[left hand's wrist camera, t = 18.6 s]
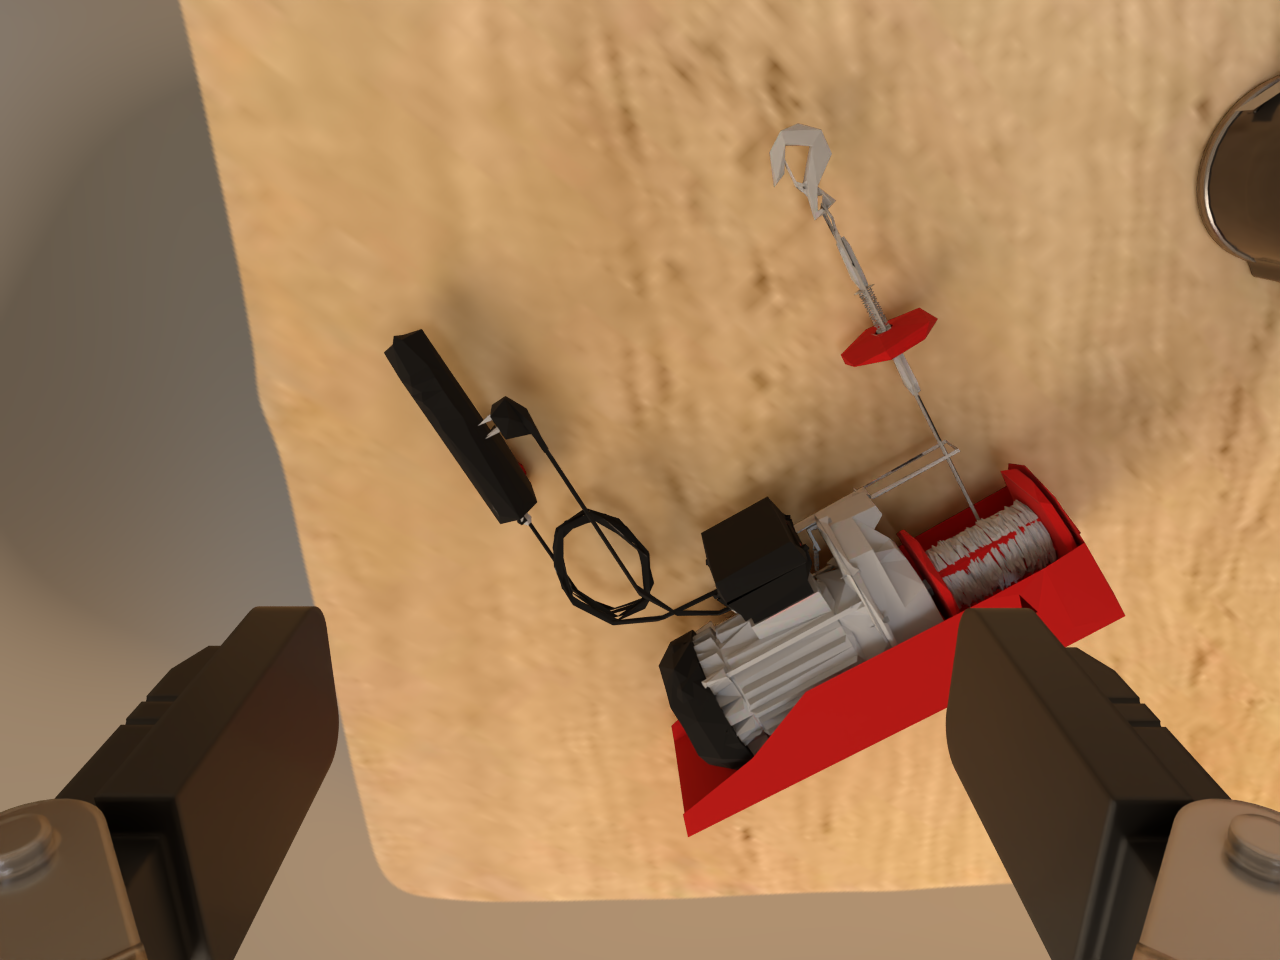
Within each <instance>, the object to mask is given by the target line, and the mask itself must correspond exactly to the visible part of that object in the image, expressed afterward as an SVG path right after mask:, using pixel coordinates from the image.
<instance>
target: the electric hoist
mask: <svg viewBox="0 0 1280 960" xmlns="http://www.w3.org/2000/svg"><path fill="white" fill-rule="evenodd" d="M793 145H802V146H809V152H808V158H807V164H806V169H805V175H804V176H803V177H804V181H803V183H799V182H796V180H795V178H794V176H793V174H792V172H791V170H790V168H789V166H788V164H787V162H786V161H785V146H793ZM769 153H770V160H771V168H772V175H773V183H774V187H775V186H776V184H777V183H778V182H779V180H780V179H781V178H782V176H783V175H784V166H786V168H787V170H788V172H789V174H790V176H791V178H792V180H793V182H794V185H795V187H796V188H797V189H799V190H800V191H801V192H803V193H804V194H805V195H806V196H807V197H808V201H809V204H810V207H811V211H812V214H813V217H814V220H816V219H817V218H819V217H820V216H822V215H823V217H824V219H825V221H826V222H827V224H828V226H829V228H830V230H831V232H832V234H833V236H834V238H835V240H836V241H837V243H836V245H837V247H838V250H839V252H840V254H841V256H842V259H843V261H844V263H845V266H846V268H847V270H848V273H849V275H850V277H851V279H852V281H853V282H854V283H855V284H856V286H857V287H858V288H859V289H860V290H858V291H857V292H856V293H855V294H854V295H857V294H859V296H860V298H861V299H862V300H863V298H864V297H865V298H864V300H863V301H861V302H864V303H863V304H865V305H864V306H866V307H865V308H867V312H869V314H870V315H869V317H870V316H872V317H873V316H874V318H875V319H872V317H871V318H870V319H872V320H874V321H875V320H876V322H874V321H873V323H874V324H873V325H875V324H876V325H875V326H873V327H871V328H868V329H866V330H865V331H864V332H863V333H862V334H861V335H860V336H859V337H858V338H857V339H856V340H855V341H854V342H853V343H852V344H851V345H850V346H849V347H848V348H847V349H846V350H845V351H844V352H843V353H842V354H841V356H842V358H843V360H844V362H845V364H847V365H850V366H853V367H856V366H862V365H867V364H872V363H877V362H882V361H887V360H892V359H893V360H894V363H895V365H896V367H897V370H898V372H899V374H900V377H901V379H902V381H903V384H904V385H905V387H906V388H907V389H908V390H909V391H910V393H911V394H912V395H913V396H915V398H916V400H917V402H918V404H919V406H920V408H921V410H922V412H923V414H924V416H925V418H926V420H927V422H928V424H929V426H930V428H931V430H932V432H933V434H934V436H935V438H936V440H937V442H938V444H937V445H935V446H933V447H932V448H930V449H928V450H926V451H925V452H923V453H921V454H919V455H918V456H916V457H914V458H912V459H911V460H909V461H907V462H905V463H904V464H902V465H900V466H898V467H897V468H895V469H893V470H891V471H890V472H888V473H886V474H884V475H883V476H881V477H879V478H877V479H876V480H874V481H872V482H870V483H869V484H867V485H865V486H863V487H862V488H860V489H858V490H857V489H855V488H854V487H853V491H854V492H852V493H851V494H849V495H847V496H845V497H843V498H841V499H840V500H838V501H836V502H834V503H832V504H831V505H829V506H827V507H825V508H824V509H822V510H820V511H818V512H816V513H815V514H813V515H811V516H809V517H807V518H806V519H804V520H802V521H800V522H798V523H797V524H795V525H793V522H792V519H790V516H791V515H785V514H783V513H782V512H781V511H780V510H779V509H778V508H777V507H776V505H775V504H774V503H773V502H772V501H771V500H770V499H769V498H768V497H766V498H764V499H762V500H761V501H759V502H757V503H755V504H753V505H751V506H750V507H748V508H746V509H744V510H742V511H741V512H739V513H737V514H735V515H733V516H731V517H730V518H728V519H726V520H724V521H722V522H721V523H719V524H717V525H715V526H713V527H712V528H710V529H708V530H706V531H704V532H702V533H701V535H702V540H703V544H704V549H705V553H706V558H707V559H706V565H708V566H709V568H710V570H711V573H712V576H713V578H714V581H715V584H716V588H717V589H715V590H713V591H711V592H709V593H707V594H705V595H703V596H701V597H699V598H697V599H695V600H693V601H691V602H689V603H687V604H685V605H683V606H681V607H679V608H677V609H675V610H673V609H671V608H670V607H668V606H667V605H665V604H664V603H663V602H661V601H660V600H658V599H657V598H655V597H654V596H652V595H651V594H650V591H651V588H652V586H653V584H654V581H653V577H652V573H651V569H650V558H649V551H648V550H647V549H646V548H645V547H644V546H643V545H642V544H641V543H640V541H639V540H638V539H637V538H636V537H635V536H634V534H633V533H632V532H631V531H630V530H629V528H628V527H627V526H625V525H624V524H623V522H622V521H621V520H620V519H619V518H616V517H612V516H609V515H607V514H603V513H600V512H597V511H593V510H590V509H587V508H586V506H585V505H584V503H583V502H582V500H581V499H580V497H579V496H578V494H577V493H576V491H575V490H574V488H573V487H572V485H571V484H570V482H569V480H568V479H567V477H566V476H565V474H564V473H563V471H562V470H561V468H560V467H559V465H558V464H557V462H556V461H555V459H554V458H553V456H552V455H551V453H550V451H549V450H548V447H547V445H546V444H545V442H544V440H543V439H542V437H541V435H540V433H539V431H538V429H537V427H536V426H535V424H534V422H533V420H532V418H531V416H530V414H529V412H528V410H527V409H526V408H525V407H523V406H521V405H520V404H518V403H516V402H515V401H513V400H511V399H509V398H508V397H506V396H505V397H503V398H502V399H500V400H499V401H497V402H496V403H494V404H493V405H492V408H491V414H490V415H489V416H488V417H487V418H486V419H484V420H483V418H482V417H481V416H480V414H479V413H478V411H477V410H476V408H475V407H474V405H473V404H472V402H471V401H470V399H469V398H468V396H467V395H466V394H465V392H464V391H463V389H462V388H461V386H460V385H459V383H458V382H457V380H456V379H455V377H454V376H453V374H452V373H451V371H450V370H449V369H448V367H447V366H446V364H445V363H444V361H443V360H442V358H441V357H440V355H439V354H438V352H437V351H436V349H435V348H434V346H433V345H432V344H431V342H430V341H429V339H428V338H427V336H426V335H425V333H424V332H423V330H422V329H421V330H417V331H414V332H411V333H408V334H405V335H399V336H394V339H393V345H392V346H391V347H389V348H388V349H387V350H386V351H385V352H384V354H385V355H386V357H387V359H388V360H389V362H390V363H391V365H392V367H393V368H394V370H395V372H396V373H397V375H398V377H399V378H400V380H401V381H402V383H403V384H404V386H405V387H406V389H407V390H408V391H409V393H410V394H411V396H412V397H413V399H414V400H415V401H416V403H417V404H418V406H419V407H420V409H421V410H422V411H423V413H424V414H425V416H426V417H427V419H428V420H429V422H430V423H431V424H432V426H433V427H434V429H435V430H436V432H437V433H438V435H439V436H440V437H441V439H442V440H443V442H444V443H445V445H446V446H447V448H448V449H449V450H450V452H451V453H452V455H453V456H454V458H455V459H456V461H457V462H458V464H459V465H460V466H461V468H462V469H463V471H464V472H465V474H466V475H467V477H468V478H469V479H470V481H471V482H472V484H473V485H474V487H475V488H476V490H477V491H478V492H479V494H480V495H481V497H482V498H483V500H484V501H485V503H486V504H487V505H488V507H489V508H490V510H491V511H492V513H493V514H494V516H495V517H496V518H497V520H498V521H499V523H500V524H503V523H507V522H511V521H515V520H517V522H518V523H519V524H521V525H523V524H525V525H529V526H530V528H531V529H532V531H533V532H534V534H535V535H536V537H537V538H538V540H539V541H540V542H541V544H542V545H543V547H544V548H545V550H546V551H547V553H548V554H549V555H550V557H551V558H552V560H553V561H554V568H555V570H556V573H557V575H558V578H559V580H560V583H561V587H562V589H563V590H564V592H565V593H566V595H567V596H568V598H569V600H570V601H571V603H572V604H573V605H574V606H576V607H578V608H580V609H582V610H584V611H586V612H588V613H590V614H592V615H594V616H596V617H598V618H600V619H601V620H603V621H605V622H607V623H609V624H611V625H621V624H633V623H644V622H655V621H660V620H663V619H666V618H668V617H670V616H672V615H674V614H675V615H677V616H694V615H721V614H723V613H726V612H728V611H730V610H732V611H734V612H735V613H738V614H737V615H735V616H733V617H731V618H729V619H727V620H725V621H724V622H722V623H720V624H718V625H716V626H714V625H713V623H712V622H711V621H710V622H709V623H707V624H706V625H705V626H703V627H702V628H700V629H699V630H697V631H696V632H694V631H693V630H691V631H690V632H688V633H686V634H684V635H683V636H681V637H679V638H677V639H675V640H674V641H672V642H670V644H669V646H668V648H667V650H666V652H665V654H664V656H663V658H662V660H661V662H660V664H659V668H660V671H661V675H662V678H663V682H664V685H665V689H666V692H667V696H668V700H669V704H670V708H671V709H672V711H673V712H674V714H675V716H676V717H677V719H678V720H677V721H676V722H675V723H674V724H673V725H672V732H673V738H674V744H675V751H676V758H677V764H678V771H679V778H680V785H681V792H682V799H683V806H684V812H685V813H684V814H683V816H684V821H685V825H686V830H687V834H688V837H690V836H692V835H694V834H696V833H698V832H700V831H702V830H704V829H706V828H708V827H710V826H712V825H714V824H716V823H718V822H720V821H722V820H724V819H726V818H728V817H730V816H732V815H734V814H736V813H738V812H740V811H742V810H744V809H746V808H748V807H750V806H752V805H754V804H756V803H758V802H760V801H762V800H764V799H766V798H767V797H769V796H771V795H773V794H775V793H777V792H779V791H781V790H783V789H785V788H787V787H789V786H791V785H793V784H795V783H797V782H799V781H801V780H803V779H805V778H807V777H809V776H811V775H813V774H815V773H817V772H819V771H821V770H823V769H825V768H827V767H829V766H831V765H833V764H835V763H837V762H839V761H841V760H843V759H845V758H847V757H849V756H851V755H853V754H855V753H857V752H859V751H861V750H863V749H865V748H867V747H869V746H871V745H873V744H875V743H877V742H879V741H881V740H883V739H885V738H887V737H889V736H891V735H893V734H895V733H897V732H899V731H901V730H903V729H905V728H907V727H909V726H911V725H913V724H915V723H917V722H919V721H921V720H923V719H925V718H927V717H929V716H931V715H933V714H935V713H937V712H939V711H941V710H943V709H945V708H947V705H948V698H949V691H950V684H951V677H952V670H953V662H954V655H955V648H956V641H957V634H958V627H959V622H960V619H961V616H962V614H963V613H964V611H965V610H966V609H968V608H1030V609H1032V610H1033V611H1034V612H1035V613H1036V614H1037V615H1038V616H1039V617H1040V619H1041V620H1042V621H1043V622H1044V623H1045V625H1046V626H1047V627H1048V628H1049V629H1050V630H1051V632H1052V633H1053V634H1054V635H1055V636H1056V637H1057V639H1058V640H1059V641H1060V642H1061V643H1062V645H1063V646H1064V647H1067V646H1069V645H1071V644H1073V643H1075V642H1076V641H1078V640H1080V639H1082V638H1084V637H1086V636H1088V635H1090V634H1092V633H1094V632H1096V631H1098V630H1099V629H1101V628H1103V627H1105V626H1107V625H1109V624H1111V623H1113V622H1115V621H1117V620H1119V619H1120V618H1122V617H1124V616H1125V614H1124V612H1123V610H1122V608H1121V606H1120V604H1119V603H1118V601H1117V599H1116V597H1115V595H1114V593H1113V591H1112V589H1111V588H1110V586H1109V584H1108V582H1107V581H1106V579H1105V577H1104V575H1103V574H1102V572H1101V570H1100V568H1099V567H1098V565H1097V563H1096V561H1095V560H1094V558H1093V556H1092V554H1091V553H1090V551H1089V549H1088V547H1087V546H1086V544H1085V542H1084V541H1083V539H1082V538H1081V536H1080V535H1079V534H1080V533H1081V532H1080V531H1079V530H1078V528H1077V527H1076V526H1075V524H1074V523H1073V522H1072V520H1071V519H1070V518H1069V517H1068V515H1067V514H1066V513H1065V511H1064V510H1063V509H1062V507H1061V505H1060V504H1059V502H1058V501H1057V499H1056V498H1055V497H1054V496H1053V495H1052V494H1051V493H1050V491H1049V490H1048V489H1047V488H1046V487H1045V486H1044V485H1043V484H1042V483H1041V482H1040V481H1039V480H1038V479H1037V478H1036V477H1035V476H1034V475H1033V474H1032V473H1031V471H1030V470H1029V469H1028V468H1027V467H1026V466H1025V465H1017V464H1008V470H1005V471H1001V473H1002V476H1003V478H1004V480H1005V483H1006V485H1007V486H1006V487H1004V488H1002V489H1001V490H999V491H997V492H995V493H994V494H992V495H990V496H988V497H986V498H985V499H983V500H981V501H979V502H977V503H976V504H974V505H973V504H972V502H971V500H970V498H969V496H968V494H967V492H966V490H965V488H964V485H963V483H962V481H961V479H960V477H959V475H958V473H957V471H956V469H955V467H954V465H953V463H952V461H951V459H950V457H951V456H953V455H954V454H956V453H958V452H960V450H959V449H958V448H956V447H955V446H954V445H952V444H951V443H949V442H948V441H946V440H944V441H941V439H940V437H939V435H938V433H937V431H936V429H935V427H934V425H933V423H932V421H931V419H930V417H929V415H928V413H927V411H926V409H925V407H924V404H923V402H922V400H921V398H920V396H919V394H918V392H920V391H921V390H920V387H919V384H918V382H917V380H916V378H915V376H914V374H913V372H912V370H911V368H910V366H909V364H908V362H907V360H906V358H905V356H904V355H903V352H905V351H907V350H908V349H910V348H911V347H913V346H915V345H916V344H918V343H919V342H921V341H923V340H924V339H925V338H926V337H927V335H928V334H929V332H930V330H931V329H932V327H933V326H934V324H935V323H936V321H937V318H936V317H934V316H932V315H931V314H929V313H927V312H926V311H924V310H922V309H921V308H917V309H915V310H912V311H910V312H908V313H905V314H903V315H900V316H898V317H895V318H893V319H890V320H888V321H887V320H886V317H885V315H884V314H883V312H880V311H882V310H881V309H882V308H880V307H881V306H879V304H878V303H879V302H877V298H875V297H876V296H874V295H875V294H874V295H873V296H871V295H872V293H873V292H874V291H872V289H871V287H872V286H873V285H874V284H873V285H869V286H868V283H867V280H866V278H865V275H864V273H863V271H862V269H861V267H860V265H859V263H858V261H857V259H856V257H855V254H854V252H853V250H852V248H851V246H850V244H849V243H848V242H847V240H846V239H845V237H842V238H841V236H840V234H839V232H838V230H837V228H836V225H835V222H834V218H833V216H832V215H831V213H830V212H829V210H828V208H829V207H830V206H831V205H832V204H833V203H834V202H835V201H836V200H835V199H833V198H832V197H831V196H829V195H828V194H827V193H825V192H824V191H823V190H821V189H820V188H819V187H817V186H818V184H819V182H820V180H821V177H822V175H823V173H824V170H825V168H826V166H827V163H828V161H829V159H830V156H831V154H832V153H831V151H830V148H829V146H828V144H827V142H826V139H825V137H824V135H823V133H822V130H820V129H817V128H813V127H809V126H806V125H802V124H795V125H793V126H791V127H789V128H786V129H784V130H782V131H780V133H779V135H778V137H777V139H776V141H775V143H774V145H773V147H772V148H771V150H770V152H769ZM821 195H823V198H822V203H821V209H820V210H819V211H818V196H821ZM826 212H827V213H826ZM827 214H828V215H829V217H830V218H831V220H832V224H833V226H832V224H831V222H830V220H829V218H828V216H827ZM826 217H827V218H826ZM827 219H828V220H827ZM869 288H870V289H869ZM868 289H869V290H868ZM870 290H871V291H870ZM868 291H870V292H868ZM871 292H872V293H871ZM861 293H863V294H861ZM870 293H871V294H870ZM860 294H861V295H862V296H861V295H860ZM863 295H864V296H863ZM872 297H873V298H872ZM865 299H866V300H865ZM873 299H874V300H873ZM872 300H873V301H872ZM874 301H875V302H874ZM865 302H866V303H865ZM874 303H875V304H874ZM876 303H877V304H876ZM866 304H868V305H866ZM877 305H878V306H877ZM867 306H869V307H867ZM876 306H877V308H876ZM878 307H879V308H878ZM868 308H870V309H868ZM879 309H880V310H879ZM868 310H869V311H868ZM870 310H871V311H870ZM878 310H879V311H878ZM871 312H872V313H871ZM879 312H880V313H879ZM872 314H873V315H872ZM880 314H881V316H883V317H884V318H883V317H881V316H880ZM882 318H883V319H882ZM883 320H884V321H883ZM491 420H493V422H494V423H495V425H496V426H497V427H496V426H495V425H494V426H493V428H492V429H491V430H490V429H489V427H488V426H487V424H486V422H488V421H491ZM499 432H501V433H502V435H503V436H504V437H505V439H510V438H515V437H519V436H524V435H528V434H532V435H533V437H534V438H535V439H536V441H537V443H538V444H539V446H540V447H541V449H542V450H543V451H544V453H546V455H547V456H548V458H549V459H550V461H551V462H552V464H553V465H554V467H555V468H556V470H557V471H558V473H559V474H560V476H561V477H562V479H563V480H564V482H565V483H566V485H567V486H568V488H569V490H570V491H571V493H572V494H573V496H574V497H575V499H576V500H577V502H578V503H579V505H580V506H581V508H582V509H583V510H582V511H580V512H579V513H577V514H576V515H574V516H573V517H572V518H570V519H569V520H567V521H565V522H564V523H563V524H561V525H560V526H558V527H557V528H556V531H555V535H554V543H553V553H552V552H551V550H550V549H549V547H548V546H547V545H546V543H545V542H544V540H543V539H542V537H541V536H540V535H539V533H538V532H537V530H536V529H535V527H534V526H533V524H532V523H531V516H530V515H529V514H528V513H527V512H528V511H529V510H530V509H531V508H532V507H533V506H534V505H535V504H536V503H537V500H536V497H535V494H534V491H533V488H532V485H531V482H530V481H529V479H528V478H527V476H526V471H525V469H524V467H523V466H522V464H520V463H518V462H517V460H516V458H515V457H514V455H513V454H512V452H511V450H510V449H509V447H508V446H507V444H506V442H505V441H504V439H503V438H502V436H501V434H500V433H499ZM945 443H947V444H948V445H950V446H951V447H953V448H954V449H955V450H954V451H953V452H951V453H949V454H948V453H947V451H946V449H945V447H944V444H945ZM938 447H940V448H941V450H942V452H943V454H944V456H943V457H941V458H940V459H938V460H936V461H934V462H932V463H930V464H928V465H927V466H925V467H923V468H921V469H919V470H917V471H915V472H913V473H912V474H910V475H908V476H906V477H904V478H902V479H900V480H899V481H897V482H895V483H893V484H891V485H889V486H887V487H886V488H884V489H882V490H880V491H878V492H876V493H874V494H872V495H870V493H869V492H868V491H867V490H866V489H865V488H866V487H868V486H870V485H872V484H873V483H875V482H877V481H879V480H881V479H882V478H884V477H886V476H888V475H890V474H891V473H893V472H895V471H897V470H899V469H900V468H902V467H904V466H906V465H908V464H909V463H911V462H913V461H915V460H917V459H918V458H920V457H922V456H924V455H926V454H927V453H929V452H931V451H933V450H935V449H936V448H938ZM945 459H946V460H947V462H948V464H949V466H950V468H951V470H952V472H953V474H954V476H955V478H956V480H957V482H958V484H959V486H960V488H961V490H962V492H963V494H964V496H965V498H966V500H967V502H968V504H969V506H970V507H968V508H967V509H965V510H963V511H961V512H960V513H958V514H956V515H954V516H952V517H951V518H949V519H947V520H945V521H943V522H942V523H940V524H938V525H936V526H934V527H933V528H931V529H929V530H927V531H926V532H924V533H922V534H920V535H918V536H917V537H915V538H913V537H912V536H911V535H910V534H908V533H907V532H906V531H905V530H904V529H903V530H901V531H899V532H898V533H897V536H898V537H899V539H900V541H901V542H902V545H900V546H899V547H898V546H897V544H896V543H895V542H894V541H893V540H891V539H890V538H888V537H887V536H885V535H883V534H881V533H879V532H878V531H876V530H874V529H875V527H876V525H877V524H878V522H879V520H880V518H881V516H882V515H883V514H882V513H881V512H880V511H879V509H878V508H877V507H876V505H875V504H874V503H873V502H872V500H871V499H874V498H876V497H878V496H880V495H882V494H884V493H885V492H887V491H889V490H891V489H893V488H894V487H896V486H898V485H900V484H902V483H904V482H905V481H907V480H909V479H911V478H913V477H914V476H916V475H918V474H920V473H922V472H924V471H925V470H927V469H929V468H931V467H933V466H934V465H936V464H938V463H940V462H942V461H944V460H945ZM870 498H871V499H870ZM583 515H584V516H583ZM595 521H596V522H598V523H599V524H601V525H603V526H605V527H606V528H608V529H610V530H612V531H613V532H615V533H617V534H618V535H619V536H621V537H622V538H623V539H624V540H626V541H627V542H628V543H629V544H630V545H632V546H633V547H634V548H635V549H637V551H638V553H639V556H640V561H641V565H642V576H643V587H644V589H642V588H641V587H639V586H638V585H637V584H636V583H635V581H634V580H633V578H632V577H631V575H630V574H629V572H628V571H627V569H626V567H625V566H624V564H623V563H622V561H621V560H620V558H619V557H618V555H617V554H616V552H615V551H614V549H613V548H612V546H611V545H610V543H609V542H608V540H607V538H606V537H605V535H604V534H603V532H602V531H601V529H600V528H599V526H598V525H597V523H596V522H595ZM590 522H591V523H592V524H593V526H594V527H595V529H596V531H597V532H598V534H599V535H600V537H601V538H602V540H603V541H604V543H605V544H606V546H607V547H608V549H609V550H610V552H611V553H612V555H613V556H614V558H615V559H616V561H617V562H618V564H619V565H620V567H621V569H622V570H623V572H624V573H625V575H626V576H627V578H628V579H629V581H630V582H631V584H632V585H633V587H634V588H635V590H636V591H637V593H638V594H639V596H641V597H642V598H641V599H638V600H636V601H633V602H630V603H628V604H625V605H622V606H619V607H616V608H614V607H611V606H608V605H605V604H602V603H600V602H597V601H594V600H593V599H591V598H590V597H588V596H587V595H585V594H584V593H582V592H580V591H579V590H578V589H577V588H576V586H575V585H574V584H573V582H572V581H571V579H570V578H569V576H568V575H567V572H566V567H565V563H564V558H563V538H564V537H565V536H566V535H567V534H568V533H569V532H570V531H571V530H572V529H573V528H576V527H579V526H581V525H584V524H586V523H590ZM804 529H806V530H807V532H808V534H809V536H810V538H811V540H812V542H813V544H814V546H815V547H816V549H817V551H818V552H819V551H820V550H821V549H820V547H819V546H818V544H817V542H816V540H815V538H814V537H813V535H812V533H811V530H815V529H818V530H819V532H820V533H821V535H822V537H823V538H824V540H825V542H826V544H827V545H828V547H829V549H830V551H831V552H832V554H833V557H832V558H831V559H830V560H829V561H828V562H827V564H828V565H827V566H826V567H824V568H822V569H821V570H819V562H818V561H819V554H818V552H817V551H814V552H813V553H814V554H818V556H816V555H814V558H818V560H814V563H818V564H815V565H814V566H815V567H818V569H817V568H815V571H817V572H815V573H813V574H811V573H810V570H811V566H812V561H811V558H810V555H809V552H808V549H809V547H808V546H807V545H806V544H804V545H802V543H801V541H800V539H799V537H798V535H797V533H799V532H801V531H803V530H804ZM632 542H633V543H634V544H635V545H634V544H633V543H632ZM814 546H813V550H816V549H814ZM816 552H817V553H816ZM815 556H816V557H815ZM833 568H835V570H832V571H831V569H833ZM827 571H829V572H827ZM815 578H817V580H815ZM573 592H574V593H576V594H577V595H576V594H574V593H573ZM572 594H574V595H575V596H577V597H578V598H579V599H581V600H582V601H584V602H585V603H586V604H585V603H583V602H581V601H580V600H578V599H577V598H575V597H574V596H573V595H572ZM578 595H579V596H578ZM711 596H713V597H714V599H717V598H718V599H717V600H718V601H719V602H721V603H722V604H724V605H725V606H727V607H726V608H724V609H722V610H720V611H687V610H685V609H687V608H689V607H691V606H693V605H695V604H697V603H699V602H701V601H703V600H705V599H707V598H709V597H711ZM649 601H651V602H652V603H654V604H656V605H658V606H660V607H662V608H664V609H666V610H667V611H669V612H668V613H666V614H664V615H661V616H652V617H642V618H632V619H623V618H625V617H628V616H630V615H632V614H634V613H636V612H639V611H641V610H643V609H645V608H646V606H647V604H648V602H649ZM631 604H632V605H631ZM628 605H629V606H628ZM624 606H626V607H624ZM621 607H623V608H621ZM617 608H620V609H617ZM614 609H617V610H614ZM610 610H614V611H610ZM624 610H626V611H624ZM620 611H624V612H623V613H621V614H620V615H616V614H614V613H617V612H620ZM622 615H623V616H622ZM618 616H622V617H620V618H619V619H616V618H614V617H618ZM621 619H623V620H621Z"/></svg>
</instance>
